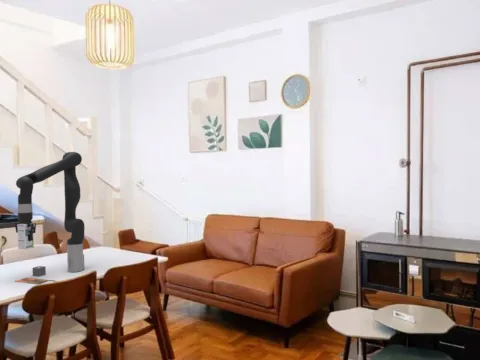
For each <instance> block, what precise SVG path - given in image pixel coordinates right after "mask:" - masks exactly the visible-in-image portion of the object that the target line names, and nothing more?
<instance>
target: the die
mask: <svg viewBox="0 0 480 360" xmlns="http://www.w3.org/2000/svg"><path fill="white" fill-rule="evenodd" d="M46 271H47V270H46V266H43V265H37V266H34V267H32V277H38V278H39V277H42V276H46V275H47V273H46Z"/></svg>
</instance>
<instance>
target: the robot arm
mask: <svg viewBox="0 0 480 360" xmlns="http://www.w3.org/2000/svg"><path fill="white" fill-rule="evenodd" d="M82 161H83V157H82V155H81V154H80V153H79V152H76V151H68V152H65V153H64V154H63V156H62V158H61V159H60V160H58V161H56V162H53V163H51V164H48V165H45V166H43V167H40V168H38V169H36V170H34V171H33V172H31V173H28V174H25V175H22V176H21V177H19V178H17V180H16V181H15V185H16V187H17V188H18V189H19V194H18V196H17V221H18V222H15V223H14V227H15V233H17V234H18V227H17V225H18V224H27V227H28V228H29V227H31V229H28V228H27V227H26V228H27V233H28V241H32V234H33V235H34V234H35V233H36V230H37V223H36V222H33V221H32V220H33V218H34V216H33V215H34V213H33V202H32V201H33V197H32V194H33V190H34V184H38V183H42V182H43V181H45V180H47V179H49V178H51V177H53V176H54V175H57V174H59V173H61V172H63V176H64V177H63V181H64V221H63V222H64V223H63V225H64V230H65V232H67V233H69V234H70V233H71V237H70V238H68V239H67V241H66V246H67V247H66V248H67V249H66V250H67V257H66V258H67V272H68V273H78V272H82V271H84V270H85V254H84V239H85V228H86V227H85V221H83V220H82V219H81V218H77V215H76V214H77V213H76V212H77V207H78V205H79V202H80V200H81V186H80V182H79V179H78V176H77V172H76V171H77V170H76V169H77V167H78V166H79V165H81V163H82ZM29 230H30V231H29Z"/></svg>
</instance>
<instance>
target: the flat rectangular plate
mask: <svg viewBox="0 0 480 360" xmlns="http://www.w3.org/2000/svg"><path fill="white" fill-rule="evenodd" d="M14 282H16V283H22V282H23V283H25V284H32V285H38V284H44V283H47V282H55V280H53V279H43V278H36V277H29V276H27V277H24V278H23V277H22V278H21V279H17V280H14Z"/></svg>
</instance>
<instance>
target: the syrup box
mask: <svg viewBox="0 0 480 360" xmlns="http://www.w3.org/2000/svg"><path fill="white" fill-rule="evenodd" d="M17 227H18V233H17V246H18V247H17V248H18V250H29V249H33V248H35V246H34V245H35V244H34V233H33V234H32V241H28V233H27V228H28V227H27V224H18V225H17ZM26 227H27V228H26ZM28 229H31V227H29V228H28ZM29 231H30V230H29Z"/></svg>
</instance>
